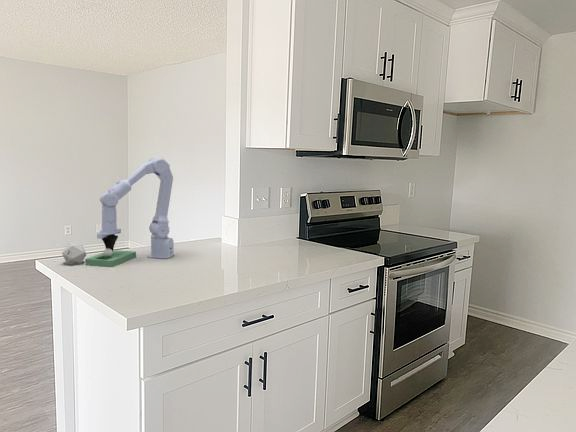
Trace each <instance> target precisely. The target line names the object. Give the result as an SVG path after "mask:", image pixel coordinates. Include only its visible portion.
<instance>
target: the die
mask: <svg viewBox="0 0 576 432" xmlns="http://www.w3.org/2000/svg"><path fill="white" fill-rule="evenodd" d="M64 247H65V248H64V249H63V250H62V252H61V254H62V256H63V258H64V260H65V263H66V265H81V264H82V262H83V261H84V260H85V259H86V258H85V257H87V252H86V250H85V248H84V245H83V244H82V243H67V244H66V246H64Z"/></svg>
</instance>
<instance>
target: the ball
mask: <svg viewBox="0 0 576 432" xmlns="http://www.w3.org/2000/svg"><path fill="white" fill-rule="evenodd" d="M103 253H104V255H105V256H107V257H109V256H111V255H112V253H113V252H112V250H111V249H110V248H107V249H106V248H105V249H104V250H103Z"/></svg>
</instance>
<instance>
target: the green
mask: <svg viewBox="0 0 576 432" xmlns="http://www.w3.org/2000/svg"><path fill="white" fill-rule="evenodd" d="M135 258H137V251H132V250H116V249H113V253H112V255H111V256H109V257H107V256H105V255H104V252H101V253H98V254H95V255H92V256H90V257H87V258H84V260H85V266H92V267H93V266H95V267H97V266H98V267H106V268H108V267H109V268H113V267H116V266H119V265H121V264H123V263H125V262H128V261H130V260H133V259H135Z"/></svg>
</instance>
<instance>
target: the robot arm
mask: <svg viewBox="0 0 576 432" xmlns="http://www.w3.org/2000/svg"><path fill="white" fill-rule="evenodd" d="M170 165H171V164H169V163H168V161H166V159H164V158H161V157H160V158H158V157H151V158H150V159H148V161H147V160H146V161H145V162H144V163H142V165H141V166H140V167H138V168H137V169H136V170H135V171H134V172H133V173H132V174H130V176H129V177H128V178H126V179H121V180H117V181H116V182H115V183H116V184H115V185H113V186H112V187H111V188H108V189H107V192H103V193H102V194H101V196H100V198H99V201H100V203H101V230H99V232H98V233H97V234H96V238H97V239H98V240H101V241H102V242H103V244H104V245H105V246H104V247H105V249H107V248H110V249H111V250H112V252H113V250H115V244H116V242H117V240H118V239H119V236H118V235H117V234H121V233H122V228H118V227H117V219H118V218H117V217H118V216H117V205H118V204H119V200H121V199H122V198H123V197H125V196H126V195H127V194H128V193H129V192H130V191H132V186H133V185H134V184H136V183H137V182H138V181H140V180H141V179H142V178H144V176H146V175H149V174H155V175H156V176H157V178H158V179H159V188H158V196H157V201H156V208H155V213H154V216H153V218H152V221H151V223H150V224H149V227H148V228H149V233H151V235H150V253H151V254H149V255H148V256H147V258H152V259H153V258H154V259H166V260H168V259H169V258H172V257H174V256H175V254H174V252H175V250H174V249H175V246H174V244H175V243H174V239H173V238H172V237H169V233H170V227H169V223H170V222H169V218H168V214H169V206H170V201H171V194H172V189H173V188H172V187H173V183H174V182H173V181H174V176H173V173H172V171H171V167H170Z"/></svg>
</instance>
